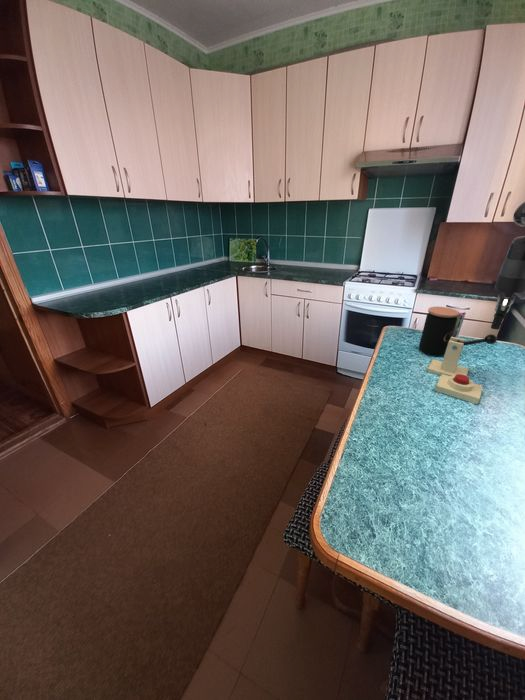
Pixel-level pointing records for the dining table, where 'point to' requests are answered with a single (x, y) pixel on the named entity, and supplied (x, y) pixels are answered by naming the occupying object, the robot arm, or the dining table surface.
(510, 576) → the dining table surface
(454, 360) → the lever base
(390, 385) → the dining table surface
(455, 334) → the candy bar box
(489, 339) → the black lever
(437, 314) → the coffee jar
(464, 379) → the button
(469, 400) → the button block
